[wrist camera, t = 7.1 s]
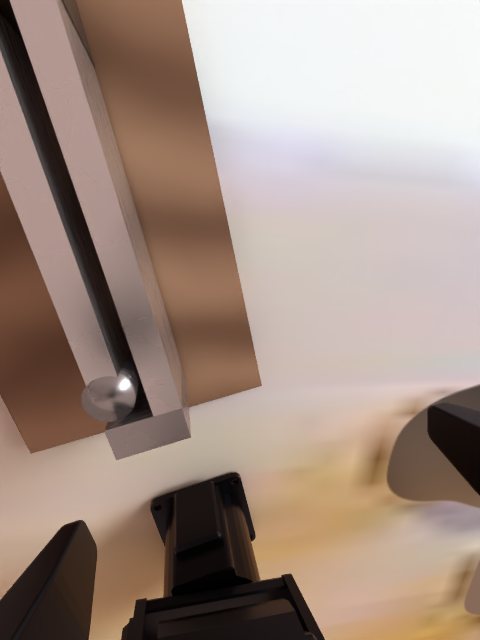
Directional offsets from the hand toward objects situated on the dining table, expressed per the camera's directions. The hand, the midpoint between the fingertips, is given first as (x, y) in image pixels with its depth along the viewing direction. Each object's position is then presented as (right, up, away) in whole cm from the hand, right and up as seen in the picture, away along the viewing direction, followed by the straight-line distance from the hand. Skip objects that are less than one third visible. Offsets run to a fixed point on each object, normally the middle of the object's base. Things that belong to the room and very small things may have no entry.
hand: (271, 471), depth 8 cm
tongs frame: (-7, +8, +7) cm, 13 cm away
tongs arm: (-8, +9, +7) cm, 14 cm away
